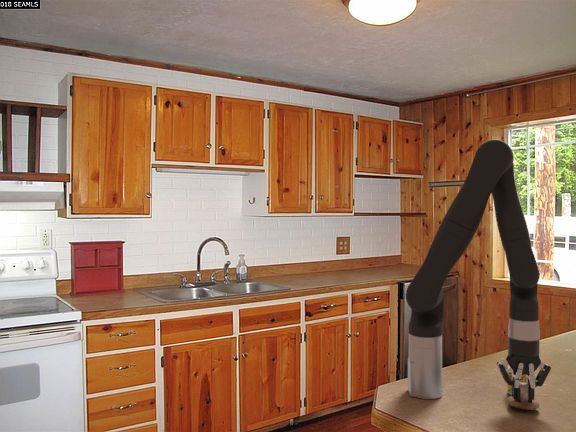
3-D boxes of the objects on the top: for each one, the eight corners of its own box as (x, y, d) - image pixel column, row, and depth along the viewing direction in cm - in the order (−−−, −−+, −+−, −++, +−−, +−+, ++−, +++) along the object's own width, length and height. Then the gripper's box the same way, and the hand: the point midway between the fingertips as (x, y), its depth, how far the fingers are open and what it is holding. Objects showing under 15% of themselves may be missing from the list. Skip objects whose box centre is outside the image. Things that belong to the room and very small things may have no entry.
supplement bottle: (528, 392, 146) (528, 359, 145) (527, 398, 141) (527, 364, 141) (508, 389, 148) (508, 356, 148) (506, 395, 143) (506, 361, 143)
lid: (513, 409, 131) (513, 388, 130) (503, 398, 138) (503, 378, 138) (543, 410, 130) (544, 389, 130) (532, 399, 137) (532, 379, 137)
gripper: (500, 338, 131) (500, 405, 131) (557, 340, 129) (556, 407, 129) (491, 331, 138) (491, 394, 138) (545, 332, 137) (545, 396, 137)
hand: (523, 400), depth 134 cm, fingers closed on lid, 2 cm apart
